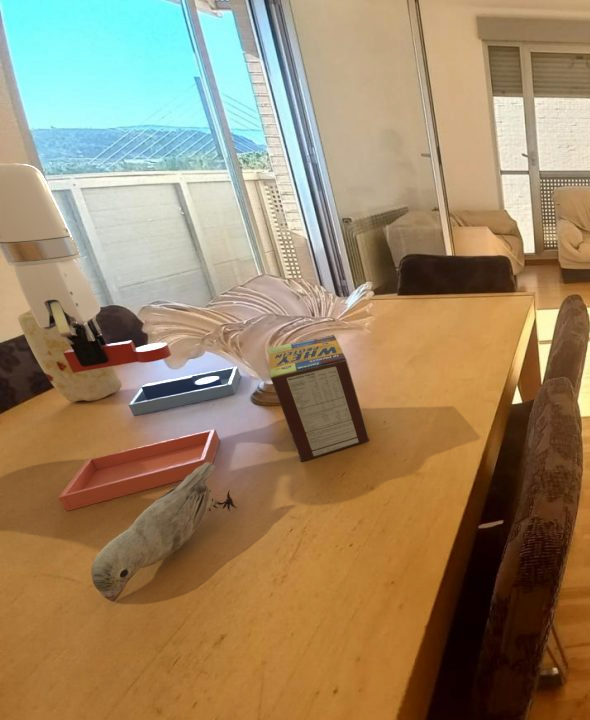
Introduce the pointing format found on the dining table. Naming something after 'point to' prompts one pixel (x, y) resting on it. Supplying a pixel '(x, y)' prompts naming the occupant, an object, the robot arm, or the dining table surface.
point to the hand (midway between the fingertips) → (97, 361)
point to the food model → (66, 364)
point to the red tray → (139, 469)
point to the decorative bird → (155, 533)
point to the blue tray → (189, 393)
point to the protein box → (317, 396)
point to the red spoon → (122, 355)
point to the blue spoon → (178, 386)
